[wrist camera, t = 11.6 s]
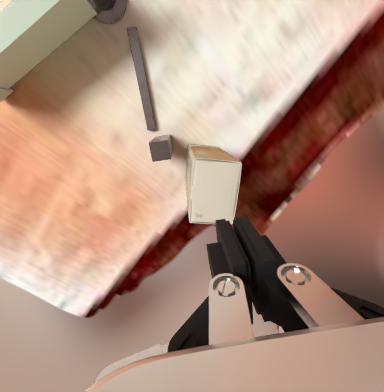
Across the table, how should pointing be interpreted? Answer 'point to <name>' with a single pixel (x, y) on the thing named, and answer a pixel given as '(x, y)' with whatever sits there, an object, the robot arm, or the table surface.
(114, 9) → the dark grey rounded knob
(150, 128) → the latch post
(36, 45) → the gate
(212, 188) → the skincare box
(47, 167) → the table surface
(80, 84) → the table surface
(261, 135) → the table surface
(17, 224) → the table surface
